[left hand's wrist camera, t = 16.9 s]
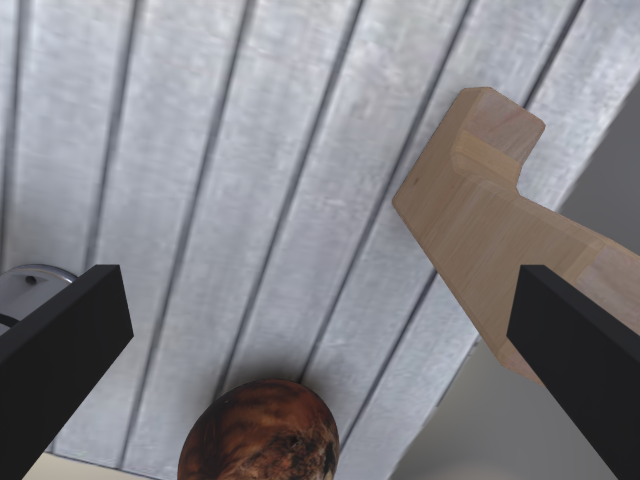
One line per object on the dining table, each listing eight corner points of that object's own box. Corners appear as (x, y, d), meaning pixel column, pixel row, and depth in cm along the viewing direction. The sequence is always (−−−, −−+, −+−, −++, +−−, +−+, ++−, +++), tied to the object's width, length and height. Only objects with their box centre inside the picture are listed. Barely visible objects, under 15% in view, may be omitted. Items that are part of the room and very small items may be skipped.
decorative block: (516, 120, 43) (898, 163, 14) (439, 231, 47) (615, 427, 19) (462, 85, 41) (764, 60, 13) (388, 203, 46) (496, 369, 18)
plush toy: (265, 522, 58) (167, 610, 40) (225, 408, 65) (125, 441, 47) (388, 463, 53) (337, 533, 35) (330, 346, 60) (263, 355, 42)
